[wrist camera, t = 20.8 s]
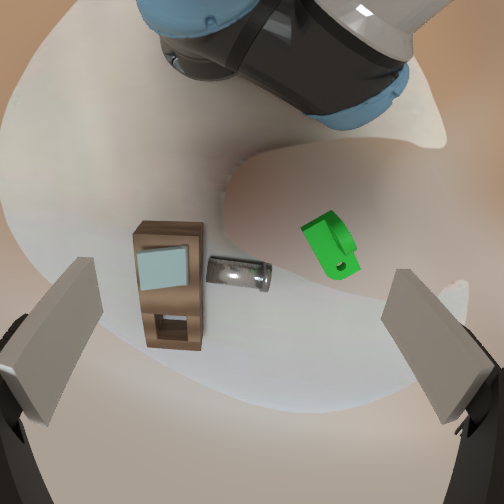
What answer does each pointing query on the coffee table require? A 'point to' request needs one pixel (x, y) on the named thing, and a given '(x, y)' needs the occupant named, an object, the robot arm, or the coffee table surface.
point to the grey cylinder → (239, 274)
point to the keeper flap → (163, 267)
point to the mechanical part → (332, 245)
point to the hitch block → (175, 297)
